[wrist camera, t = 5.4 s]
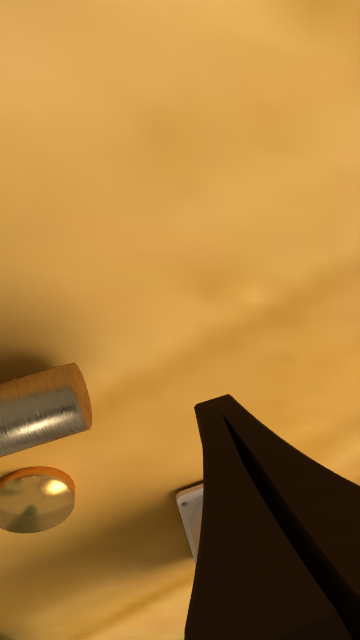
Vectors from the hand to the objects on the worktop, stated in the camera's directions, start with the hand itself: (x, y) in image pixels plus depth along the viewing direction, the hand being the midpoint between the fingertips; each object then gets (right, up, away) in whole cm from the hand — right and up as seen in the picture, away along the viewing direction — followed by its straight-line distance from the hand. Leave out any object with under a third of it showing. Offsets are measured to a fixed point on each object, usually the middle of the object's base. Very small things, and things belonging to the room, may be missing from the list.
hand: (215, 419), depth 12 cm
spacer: (-10, -7, +8) cm, 15 cm away
